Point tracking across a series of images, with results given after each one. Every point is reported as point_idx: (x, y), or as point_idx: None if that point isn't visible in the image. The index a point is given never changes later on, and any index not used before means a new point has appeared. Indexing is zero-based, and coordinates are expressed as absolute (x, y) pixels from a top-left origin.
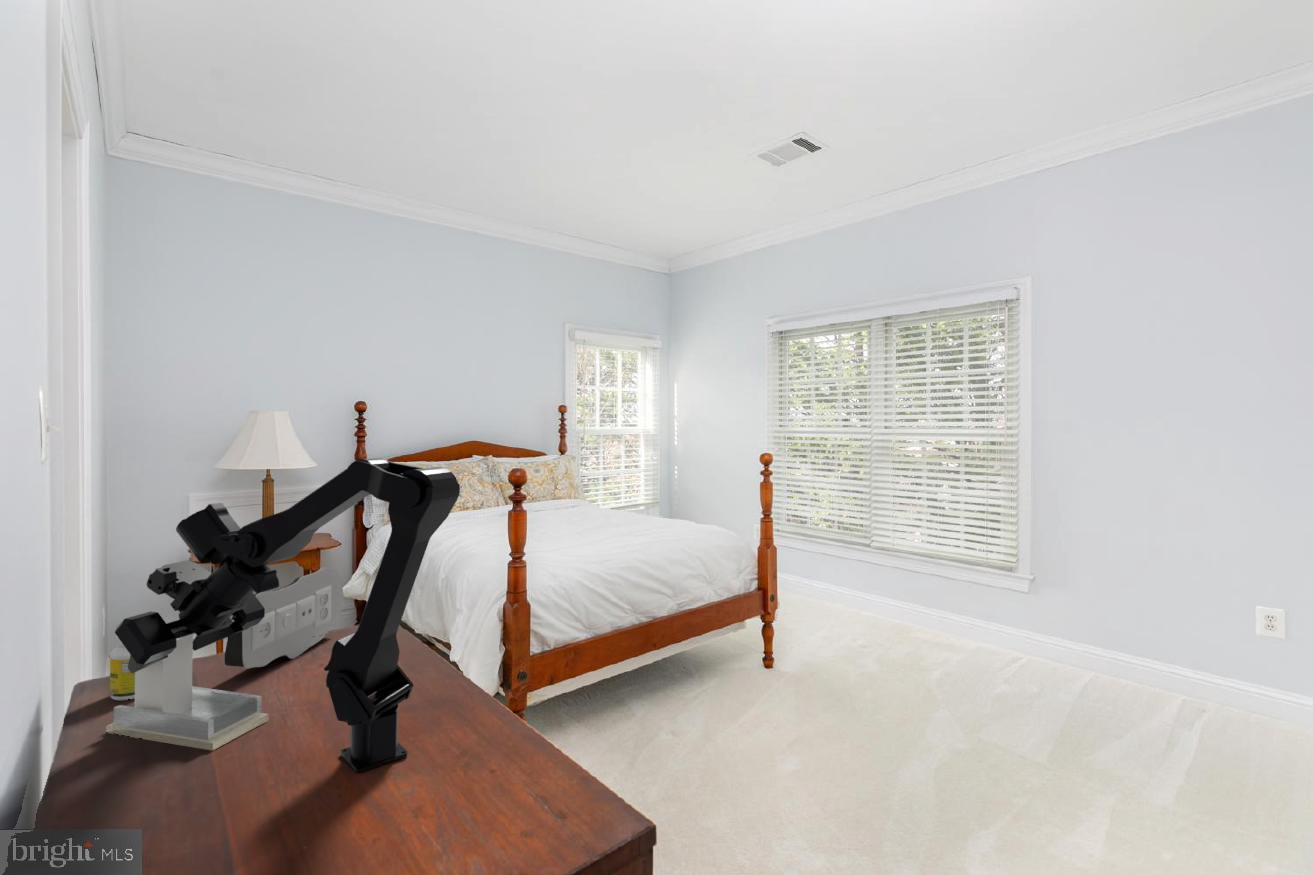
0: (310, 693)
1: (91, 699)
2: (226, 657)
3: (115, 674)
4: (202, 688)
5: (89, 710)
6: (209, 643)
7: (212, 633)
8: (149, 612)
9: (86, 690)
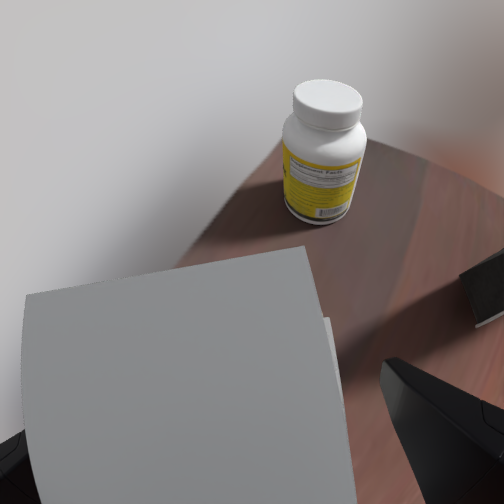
0: None
1: (270, 169)
2: (468, 275)
3: (284, 167)
4: None
5: (240, 207)
6: (409, 459)
7: (438, 480)
8: None
9: None
